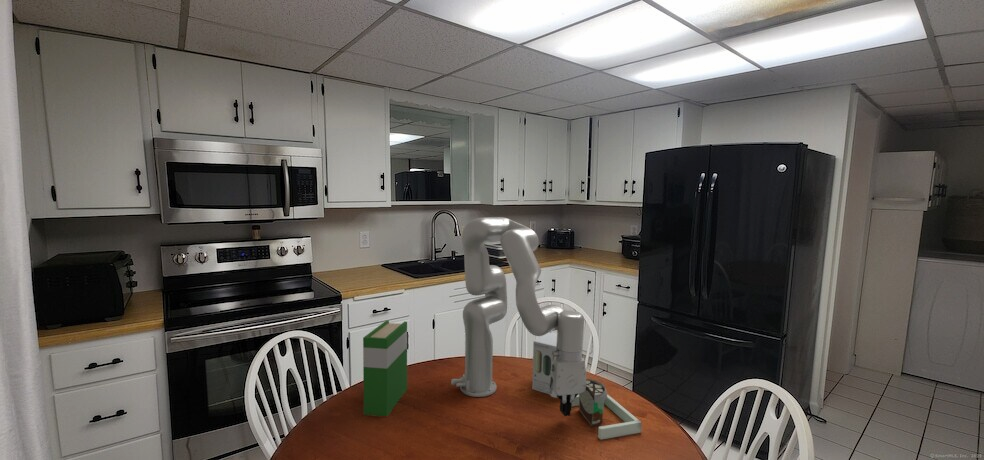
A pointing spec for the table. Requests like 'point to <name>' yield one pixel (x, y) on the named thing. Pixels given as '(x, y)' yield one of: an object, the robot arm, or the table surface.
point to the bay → (616, 430)
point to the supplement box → (543, 361)
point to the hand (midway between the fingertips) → (565, 413)
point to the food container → (593, 401)
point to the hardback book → (384, 367)
